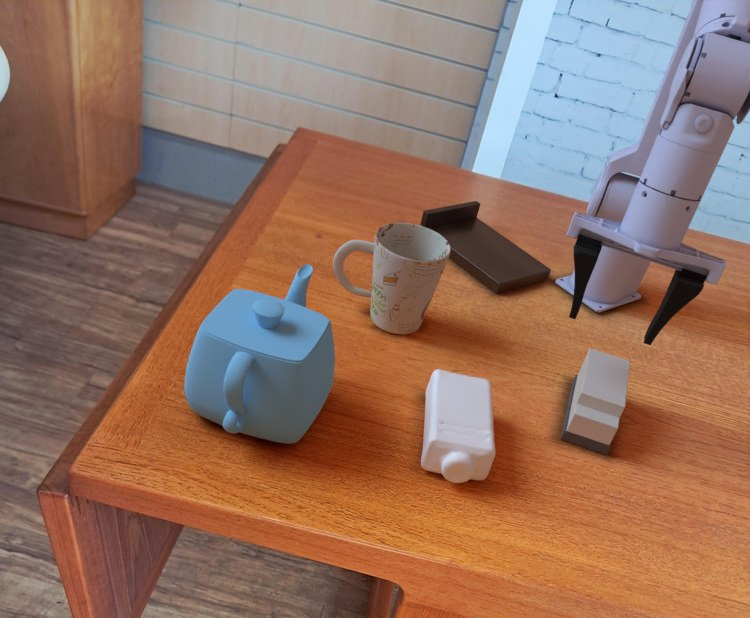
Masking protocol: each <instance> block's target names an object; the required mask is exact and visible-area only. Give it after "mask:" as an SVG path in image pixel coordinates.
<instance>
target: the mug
mask: <svg viewBox="0 0 750 618" xmlns="http://www.w3.org/2000/svg"><path fill="white" fill-rule="evenodd" d="M420 225H421V224H415V223H409V222H391V223H387V224H384V225H382V226H380V227H379V228H378V229H377V230H376V232H375V235H374V241H373V242H371V241H367V240H363V239H351V240H349V241H346V242H345V243H343V244H342V245H341V246H339V248H338V249H337V250H336V252H335V254H334V256H333V260H332V270H333V274H334V277H335V279H336V280H337V282H338V283H339V284H340V285H341V286H342V288H343V289H345V290H346V291H347V292H349V293H350V294H352V295H354V296H358V297H363V298H369V299H370V310H369V311H370V312H369V313H370V314H369V315H370V320H371V321H372V323H373V325H375V326H376V327H377V328H379V329H381V331H382V330H383V331H384V332H388V333H390V334H395V335H409V334H413V333H415V332H417V331H418V330H419V329H420V327H422V326H421V325H422V323H423V321H424V319H425V316H426V314H427V311H428V309H429V306H430V304H431V302H432V299H433V297H434V294H435V292H436V289H437V287H438V285H439V282H440V280H441V278H442V276H443V273H444V270H445V268H446V266H447V263H448V261H449V259H450V258H449V255H450V250H451V248H450V245H449V243H448V242H447V240H446V239H445V238H444V237H443V236H441V235H440V234H438V233H437V232H435V231H433V230H431V229H429V228H426V227H423V226H420ZM354 252H361V253H366V254H369V255H372V257H373V260H372V276H371V277H372V278H371V290H369V289H364V288H362V287H358V286H357V287H356V286H354V285H353V283H351V281H349V278H348V277H347V275H346V273H345V268H344V264H345V261H346V259H347V257H349V256H350V255H351V254H353V253H354Z"/></svg>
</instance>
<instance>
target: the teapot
mask: <svg viewBox="0 0 750 618" xmlns="http://www.w3.org/2000/svg"><path fill="white" fill-rule="evenodd" d="M313 271H314V268H313V266H312V264H309V263H307V264H304V265H302V266H301V267H300V268H299V269H298V270H297V271H296V273H295V275H294V278H293V280H292V282H291V285H290V287H289V289H288V291H287V293H286V296H285V298H281V297H277V296H275V295H274V296H273V295H270V294H266V293H262V292H258V291H255V290H249V289H246V288H245V289H244V288H234V289H232V290H231V291H230V292H229V293H227V294H226V295H225V296H224V297H223V298H222V300H220V301H219V303H218V304H217V305H216V306H214V308H213V309H212V310H211V311H210V312H209V314H208V315H206V317H205V318H204V319H203V321H202V322H201V324H200V325H199V328H198V331H197V332H196V335H195V338H194V341H193V343H192V346H191V349H190V353H189V356H188V360H187V364H186V369H185V376H184V384H183V385H184V387H183V388H184V390H183V391H184V396H185V399H186V401H187V403H188V406H189V407H190V409H191V410H192V411H193V412H195V413H196V414H197V415H199V416H201V417H203V418H204V419H207V420H208V421H211V422H212V423H215V424H217V425H220V426H222V428H223V429H224V430H225V432H227V433H229V434H238V433H241V434H243V435H248V436H250V437H255V438H258V439H262V440H265V441H266V440H267V441H271V442H275V443H279V444H280V443H281V444H288V445H290V444H296V443H298V442H299V441H300V440H302V438H303V436H304V435H305V434H306V433H307V431H308V430H309V429H310V427H311V425H313V423H314V421H315V420H316V418H317V417H318V416H319V414H320V412H321V410H322V409H323V407H324V405H325V403H326V401H327V399H328V397H329V394H330V392H331V390H332V388H333V384H334V377H335V368H336V367H335V365H336V364H335V363H336V355H335V354H336V350H335V340H334V334H333V326H332V322H331V320H330V319H329V318H328V317H327V316H325V315H324V314H322V313H320V312H318V311H315V310H313V309H311V308H308V307H307V295H308V287H309V283H310V280H311V278H312V275H313Z"/></svg>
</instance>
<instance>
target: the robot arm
mask: <svg viewBox="0 0 750 618" xmlns="http://www.w3.org/2000/svg"><path fill="white" fill-rule="evenodd" d="M749 113H750V0H691V5H690V9H689V11H688V14H687V16H686V18H685V22H684V24H683V26H682V29H681V31H680V34H679V36H678V39H677V41H676V44H675V47H674V49H673V52H672V54H671V56H670V59H669V61H668V64H667V66H666V69H665V72H664V74H663V77H662V80H661V82H660V85H659V87H658V90H657V92H656V95H655V97H654V100H653V103H652V104H651V107H650V110H649V112H648V115H647V117H646V120H645V123H644V125H643V128H642V130H641V132H640V135H639V138H638V141H637V143H635V144H632V145H630V146H627V147H625V148H622V149H619V150H616V151H614V152H613V153H611V154H610V156H609V157H607V158H606V159H605V163H604V166H603V168H602V170H601V172H600V173H599V176H598V178H597V180H596V182H595V185H594V188H593V191H592V193H591V196H590V199H589V202H588V205H587V208H586V212H585V213H582V212H579V211H575V212H574V214H573V215H572V217H571V221H570V224H569V226H568V229H567V232H566V234H565V236H566V237H569V238H570V239H571V238H572V239H575V240H576V241H575V243H574V245H573V265H574V269H573V271H572V274H570V275H566V276H563V277H559V278H556V279H555V284H556V285H557V286H559V287H560V288H562V289H563V290H564V291H565V292H567V293H569V294H570V295H571V296H573V298H572V303H571V308H570V313H569V315H568V318H569V319H572V320H576V319H577V317H578V314H579V312H580V310H581V307H582V303H583V304H584V305H585V306H587V307H588V308H589V309H591V310H593V311H594V312H595V313H602V312H605V311H608V310H612V309H614V308H617V307H620V306H624V305H627V304H629V303H632V302H635V301H638V300H641V299H642V295H641V294H640V293H638V290H639V288H640V285H641V284H642V282H643V279H644V277H645V275H646V273H647V271H648V269H649V267H650V264H651V263H654V264H657V265H661V266H663V267H666V268H669V269H672V270H674V273H673V275H672V277H671V280H670V282H669V285H668V286H667V289H666V292H665V294H664V296H663V299H662V301H661V303H660V305H659V307H658V308H657V311H656V312H655V314H654V316H653V318H652V319H651V322H650V323H649V325H648V328H647V329H646V332H645V334H644V337H643V344H645V345H648V346H652V344H653V342H654V341H655V339H656V337H657V336H658V335H659V334H660V333H661V331H662V330H663V329H664V327H665V326H666V325H667V324H668V323H669V322H670V321H671V320H672V319H673V317H674V316H676V315H677V314H678V313H679V312H680V311H681V310H682V309H683V308H684V307H686V305H688V304H689V303H690V302H692V301H693V300H694V299H695V298H697V297H698V296H699V295H700V294H701V293H702V292H703V289H704V287H705V282H706V283H709V284H712V285H715V286H717V285H718V283H719V282H720V280H721V278H722V275H723V273H724V271H725V269H726V267H727V263H726V259H724V258H721V257H718V256H716V255H713V254H710V253H707V252H705V251H703V250H700V249H697V248H695V247H694V246H693V247H692V246H690V245H688V244H685V243H683V240H684V239H685V235H686V234H687V231H688V229H689V228H690V225H691V223H692V221H693V219H694V217H695V214H696V212H697V210H698V208H699V206H700V204H701V201H702V199H703V196H704V194H705V192H706V190H707V188H708V186H709V183H710V181H711V179H712V177H713V176H714V173H715V170H716V169H717V166H718V164H719V162H720V159H721V157H722V155H723V154H724V151H725V149H726V147H727V145H728V143H729V140H730V138H731V136H732V135H733V134H732V133H733V132H734V129H735V123H734V120H735V119H736V120H735V121H736V124H737V125H741V124H742V122H743V121H744V120H745V118H746V117H747V116H748V114H749Z"/></svg>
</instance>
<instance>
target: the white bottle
mask: <svg viewBox="0 0 750 618" xmlns="http://www.w3.org/2000/svg"><path fill="white" fill-rule="evenodd" d="M492 391H493V390H492V382H491V380H489V379H487V378H483V377H477V376H474V375H473V376H472V375H467V374H463V373H457V372H453V371H450V370H444V369H442V368H440V369H439V368H437V369H434V371H432V373H431V376H430V378H429V381H428V384H427V386H426V389H425V393H424V394H425V405H424V420H423V421H424V422H423V437H422V438H423V440H422V442H423V443H422V449H421V450H422V452H421V457H420V466H421V468H422V469H423V470H424V471H426V472H431V473H436V474H441V475H442V476H443V478H444V479H445V480H447V481H448V482H450V483H453V484H461V483H462V484H463V483H465V482H468V481H470V480H472V481H484V480H486V478H487V477H488V475H489V473H490V471H491V468H492V465H493V462H494V460H495V457H496V444H495V432H494V430H495V428H494V409H493V408H494V407H493V392H492Z"/></svg>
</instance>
